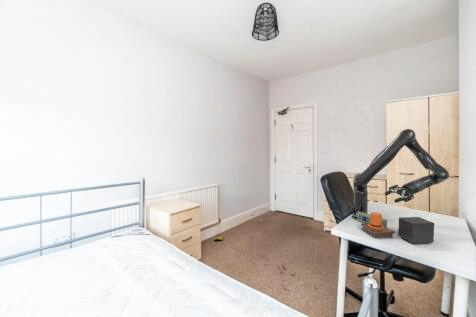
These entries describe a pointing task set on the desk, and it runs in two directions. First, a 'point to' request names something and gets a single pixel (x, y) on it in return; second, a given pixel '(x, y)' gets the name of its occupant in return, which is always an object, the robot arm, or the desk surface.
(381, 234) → the stand
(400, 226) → the dark grey cube pedestal
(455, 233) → the desk surface
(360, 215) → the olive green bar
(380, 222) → the hat
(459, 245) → the desk surface
